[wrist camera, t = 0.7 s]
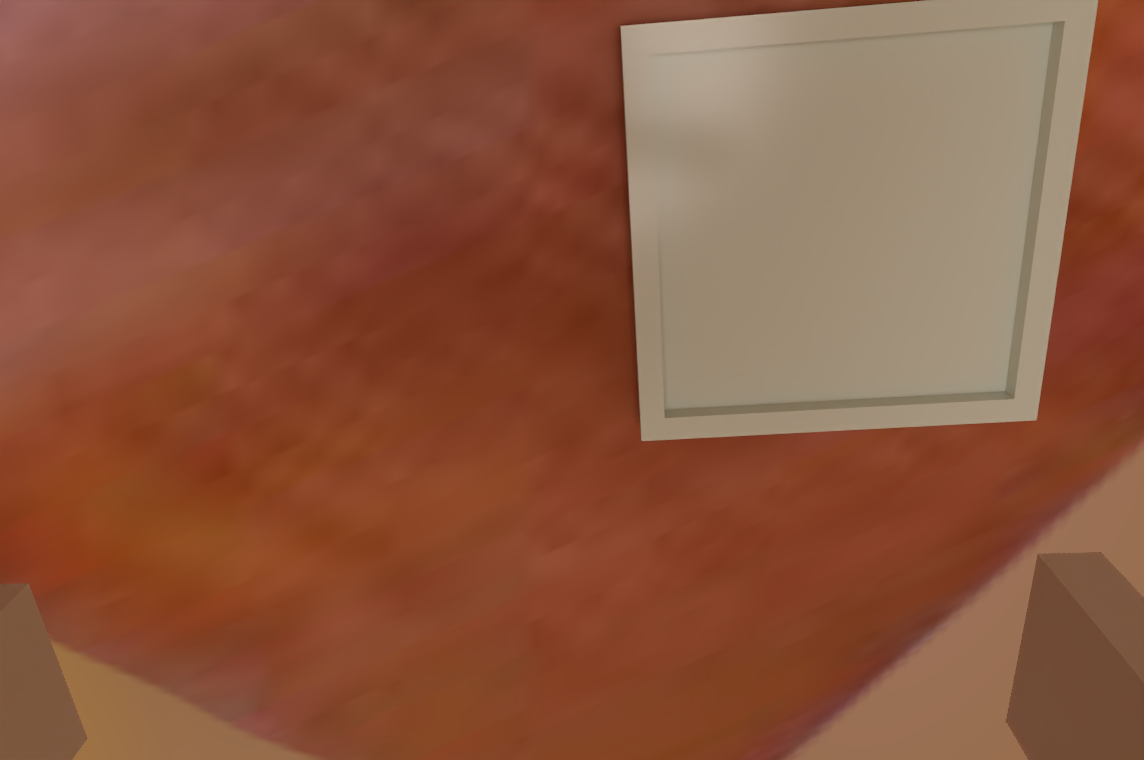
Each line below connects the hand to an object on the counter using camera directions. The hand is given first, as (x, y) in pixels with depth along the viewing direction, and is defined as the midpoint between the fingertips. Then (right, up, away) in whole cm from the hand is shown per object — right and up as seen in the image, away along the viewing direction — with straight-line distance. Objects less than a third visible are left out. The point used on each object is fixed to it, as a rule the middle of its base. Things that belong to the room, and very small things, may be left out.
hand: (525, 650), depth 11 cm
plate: (+11, +10, +22) cm, 26 cm away
